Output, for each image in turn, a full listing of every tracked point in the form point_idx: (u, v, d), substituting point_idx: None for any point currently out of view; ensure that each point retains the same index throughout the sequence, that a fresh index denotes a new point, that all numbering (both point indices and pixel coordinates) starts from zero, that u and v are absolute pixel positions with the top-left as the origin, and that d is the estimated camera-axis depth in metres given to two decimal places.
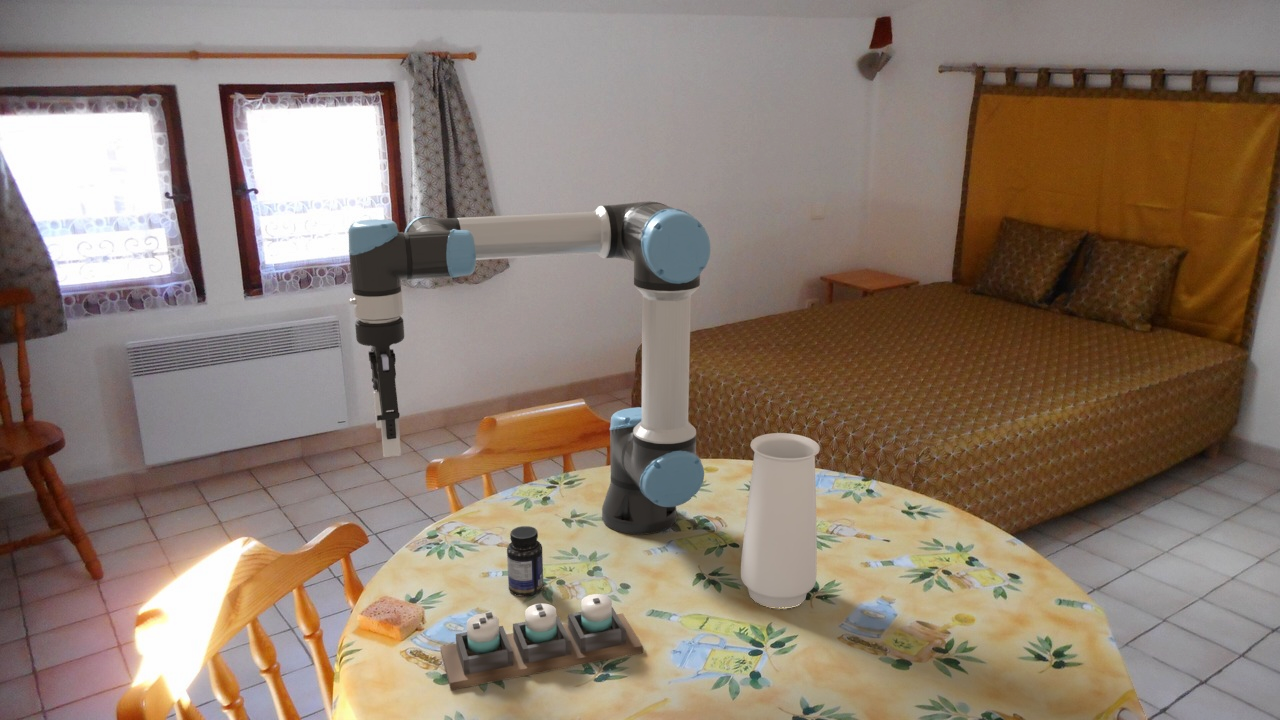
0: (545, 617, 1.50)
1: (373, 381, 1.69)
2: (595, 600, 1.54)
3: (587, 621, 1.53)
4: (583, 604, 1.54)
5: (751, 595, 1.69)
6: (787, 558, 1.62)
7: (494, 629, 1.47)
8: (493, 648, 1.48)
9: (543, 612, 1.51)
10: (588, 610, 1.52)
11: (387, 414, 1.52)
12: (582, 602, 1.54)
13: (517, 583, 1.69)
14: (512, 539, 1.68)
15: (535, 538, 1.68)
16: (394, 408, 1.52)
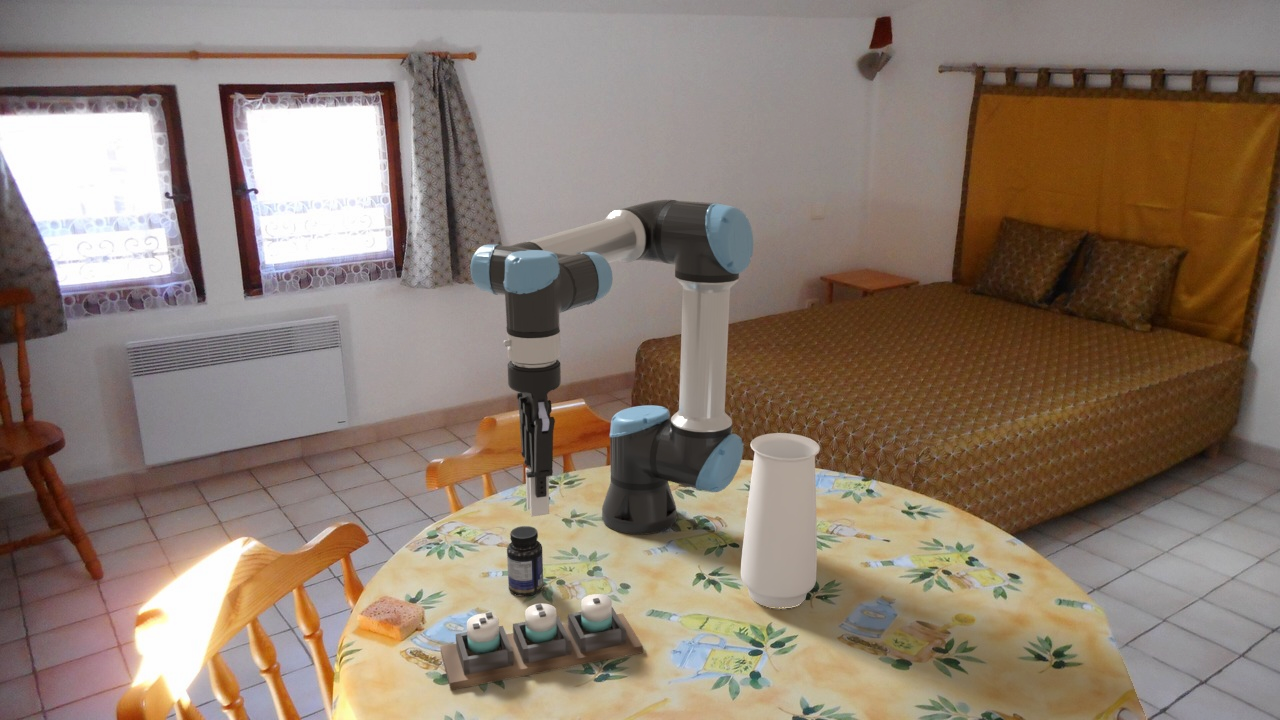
0: (545, 617, 1.50)
1: (523, 453, 1.47)
2: (595, 600, 1.54)
3: (587, 621, 1.53)
4: (583, 604, 1.54)
5: (751, 595, 1.69)
6: (788, 558, 1.62)
7: (494, 629, 1.47)
8: (493, 648, 1.48)
9: (543, 612, 1.51)
10: (588, 610, 1.52)
11: (540, 472, 1.40)
12: (582, 602, 1.54)
13: (517, 583, 1.69)
14: (512, 539, 1.68)
15: (535, 538, 1.68)
16: (548, 468, 1.40)
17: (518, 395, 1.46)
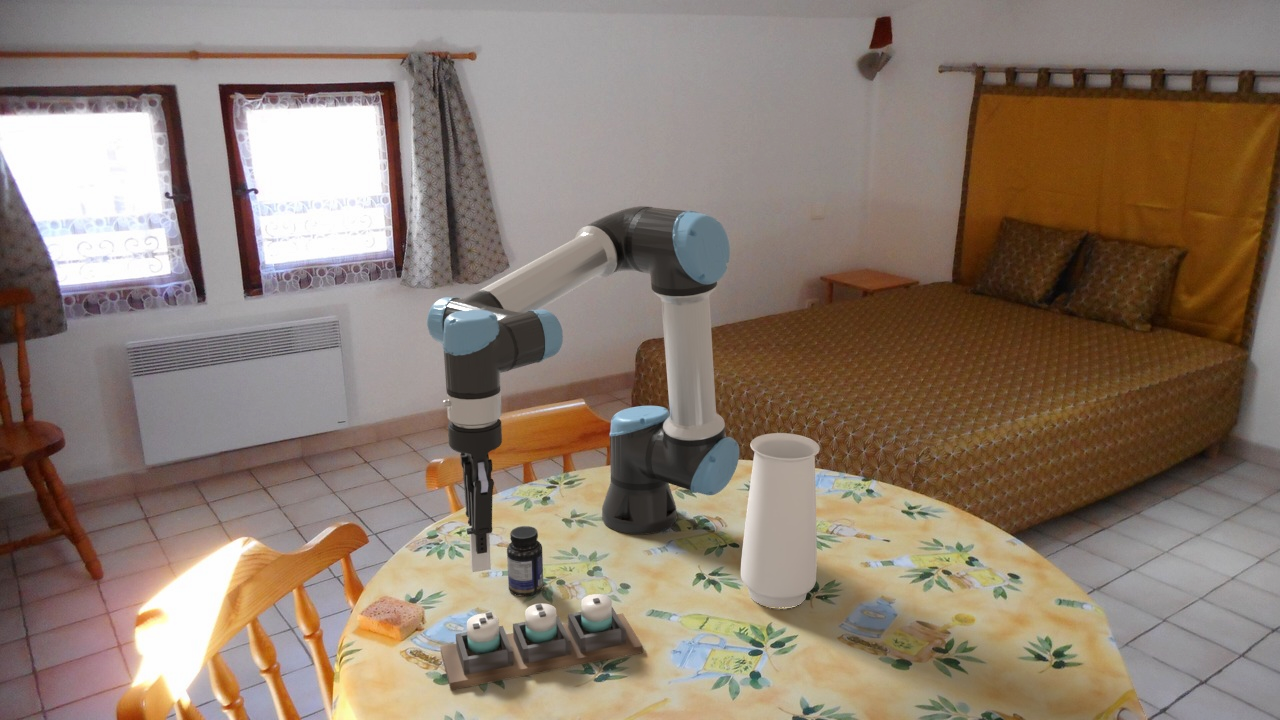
0: (545, 617, 1.50)
1: (467, 512, 1.46)
2: (595, 600, 1.54)
3: (587, 621, 1.53)
4: (583, 604, 1.54)
5: (751, 595, 1.69)
6: (787, 558, 1.62)
7: (494, 629, 1.47)
8: (493, 648, 1.48)
9: (543, 612, 1.51)
10: (588, 610, 1.52)
11: (480, 529, 1.40)
12: (582, 602, 1.54)
13: (517, 583, 1.69)
14: (512, 539, 1.68)
15: (535, 538, 1.68)
16: (488, 526, 1.40)
17: (461, 454, 1.46)
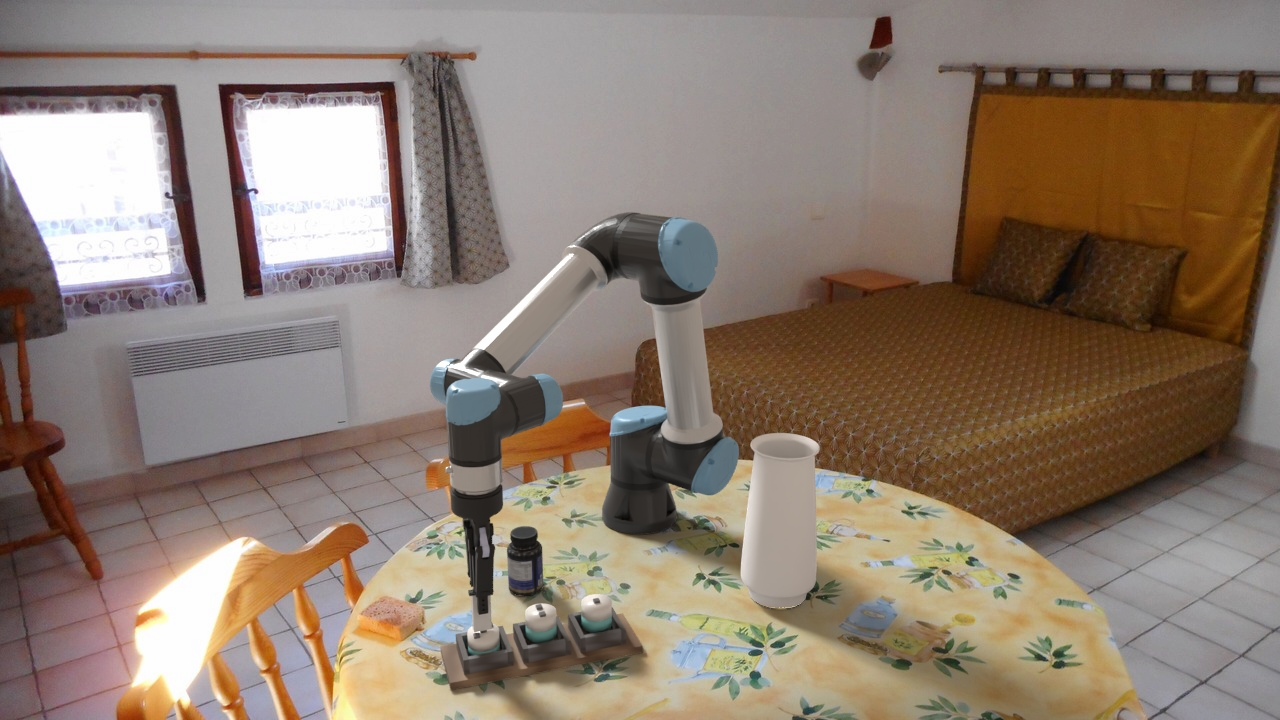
0: (545, 617, 1.50)
1: (469, 573, 1.48)
2: (595, 600, 1.54)
3: (587, 621, 1.53)
4: (583, 604, 1.54)
5: (751, 595, 1.69)
6: (787, 558, 1.62)
7: (494, 639, 1.48)
8: None
9: (543, 612, 1.51)
10: (588, 610, 1.52)
11: (481, 592, 1.43)
12: (582, 602, 1.54)
13: (517, 583, 1.69)
14: (512, 539, 1.68)
15: (535, 538, 1.68)
16: (489, 589, 1.43)
17: None
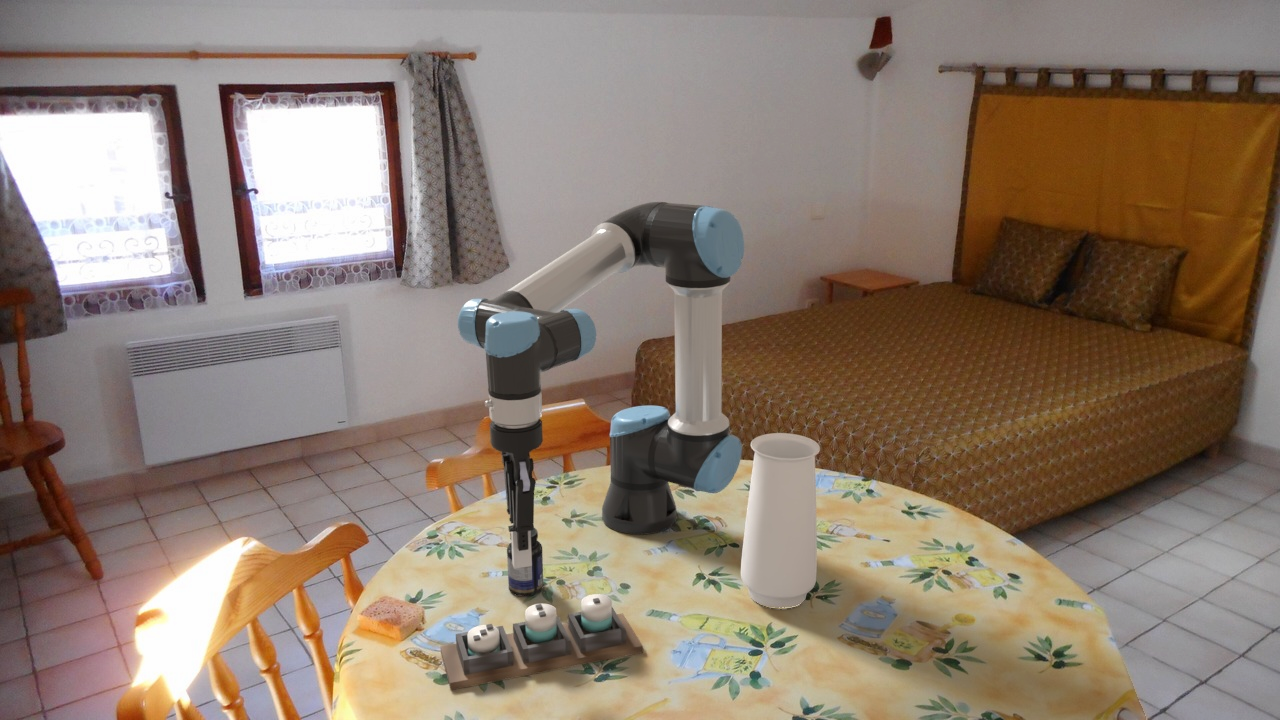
0: (545, 617, 1.50)
1: (509, 509, 1.48)
2: (595, 600, 1.54)
3: (587, 621, 1.53)
4: (583, 604, 1.54)
5: (751, 595, 1.69)
6: (788, 558, 1.62)
7: (494, 641, 1.48)
8: None
9: (543, 612, 1.51)
10: (588, 610, 1.52)
11: (522, 527, 1.43)
12: (582, 602, 1.54)
13: (517, 583, 1.69)
14: None
15: (535, 538, 1.68)
16: (529, 524, 1.43)
17: (502, 452, 1.48)
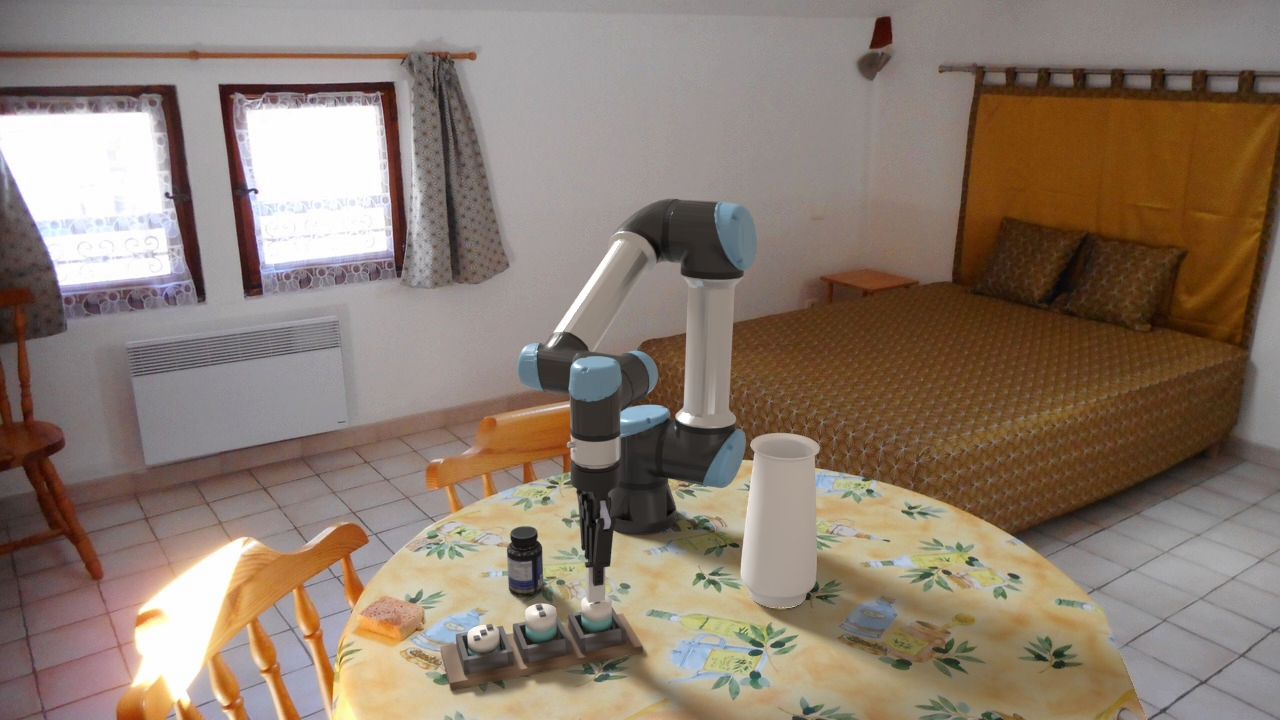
0: (545, 617, 1.50)
1: (583, 546, 1.54)
2: None
3: (587, 621, 1.53)
4: (583, 604, 1.54)
5: (751, 595, 1.69)
6: (787, 558, 1.62)
7: (494, 641, 1.48)
8: None
9: (543, 612, 1.51)
10: (588, 610, 1.52)
11: (599, 563, 1.48)
12: (582, 602, 1.54)
13: (517, 583, 1.69)
14: (512, 539, 1.68)
15: (535, 538, 1.68)
16: (607, 560, 1.48)
17: (577, 490, 1.54)
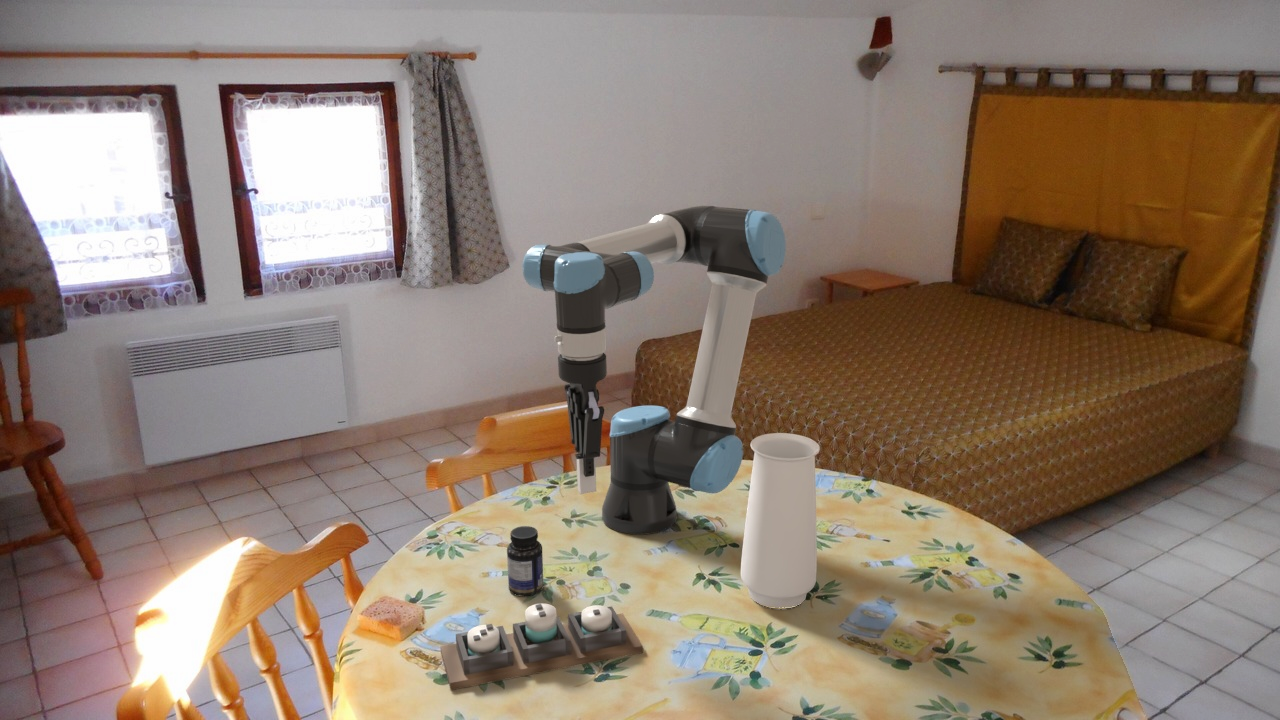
0: (545, 617, 1.50)
1: (573, 440, 1.59)
2: (595, 611, 1.55)
3: (587, 632, 1.54)
4: (583, 615, 1.54)
5: (751, 595, 1.69)
6: (787, 558, 1.62)
7: (494, 641, 1.48)
8: None
9: (543, 612, 1.51)
10: (588, 621, 1.53)
11: (589, 454, 1.54)
12: (582, 613, 1.55)
13: (517, 583, 1.69)
14: (512, 539, 1.68)
15: (535, 538, 1.68)
16: (597, 450, 1.54)
17: (565, 387, 1.59)
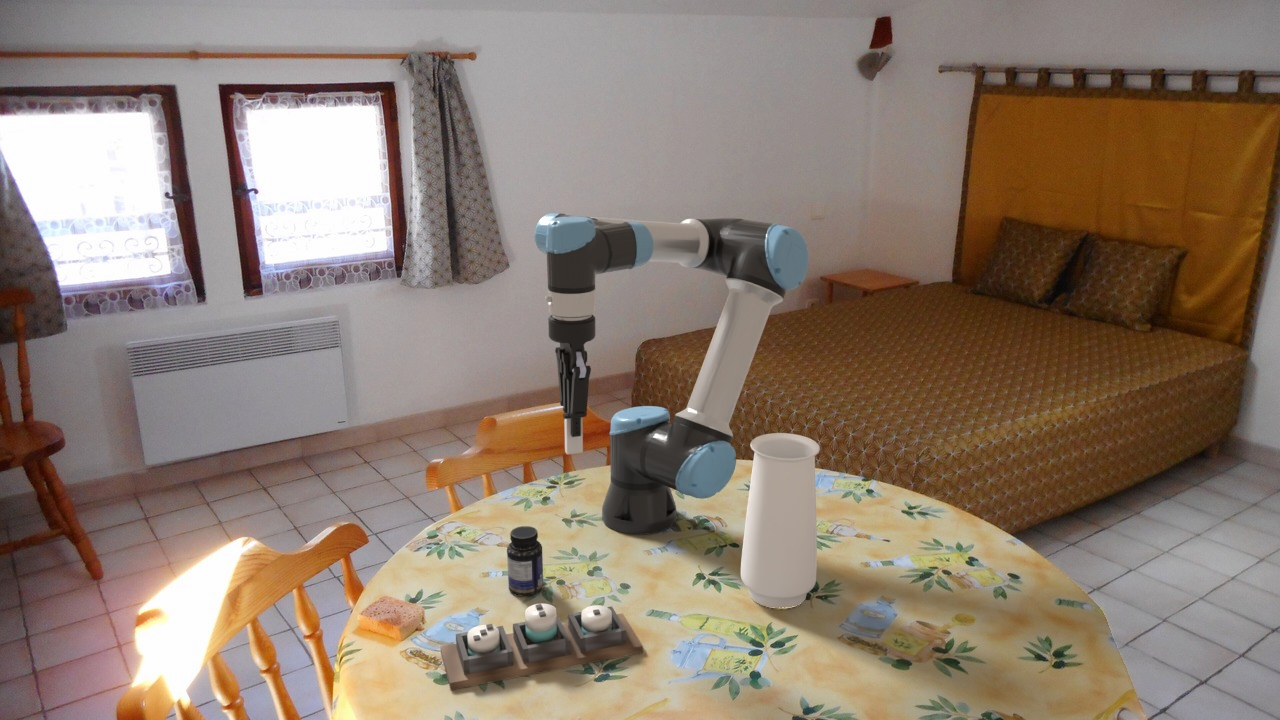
0: (545, 617, 1.50)
1: (562, 401, 1.63)
2: (595, 611, 1.55)
3: (587, 632, 1.54)
4: (583, 615, 1.54)
5: (751, 595, 1.69)
6: (787, 558, 1.62)
7: (494, 641, 1.48)
8: None
9: (543, 612, 1.51)
10: (588, 621, 1.53)
11: (576, 413, 1.58)
12: (582, 613, 1.55)
13: (517, 583, 1.69)
14: (512, 539, 1.68)
15: (535, 538, 1.68)
16: (583, 410, 1.58)
17: (556, 349, 1.63)
